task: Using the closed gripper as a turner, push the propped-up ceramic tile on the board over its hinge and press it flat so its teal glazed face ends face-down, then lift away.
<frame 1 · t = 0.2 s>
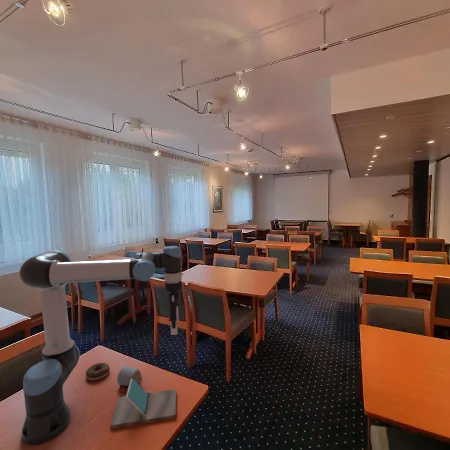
hand: (174, 326, 117), 28 cm above the table, fingers open, 13 cm apart
tile: (137, 395, 104), point 6 cm above the table, hinge at 55.0°
hinge board: (146, 409, 105), on the table
donut: (98, 375, 127), on the table
ceramic mug: (131, 382, 122), on the table
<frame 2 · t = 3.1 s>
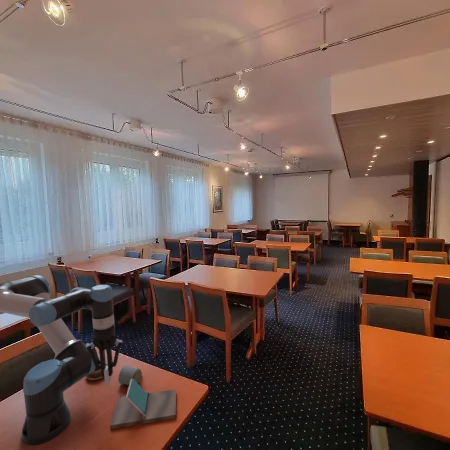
hand: (108, 383, 101), 13 cm above the table, fingers closed
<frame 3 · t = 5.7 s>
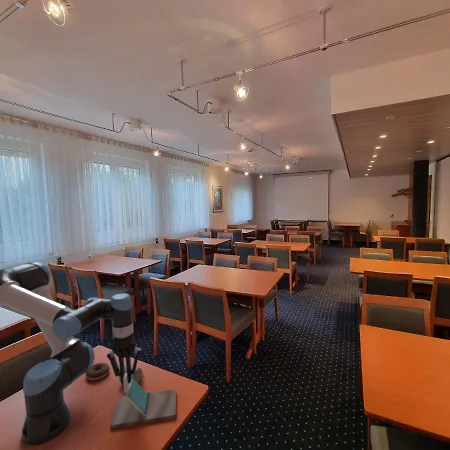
hand: (126, 390, 103), 9 cm above the table, fingers closed
tile: (137, 395, 104), point 6 cm above the table, hinge at 55.1°, touching gripper
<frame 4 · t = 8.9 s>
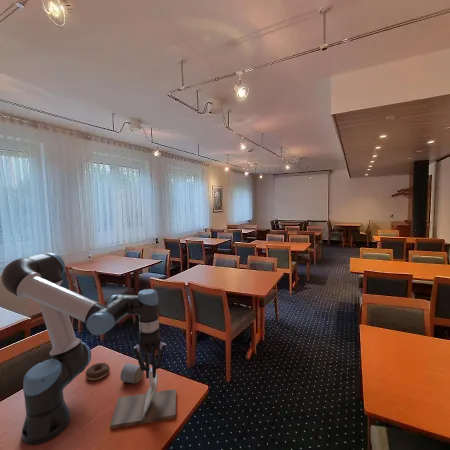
hand: (151, 384, 105), 10 cm above the table, fingers closed
tile: (151, 392, 105), point 7 cm above the table, hinge at 115.5°, touching gripper
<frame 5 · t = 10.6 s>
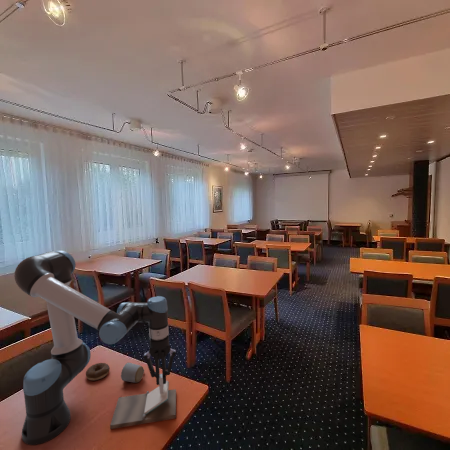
hand: (161, 390, 106), 7 cm above the table, fingers closed
tile: (157, 396, 106), point 5 cm above the table, hinge at 150.0°, touching gripper
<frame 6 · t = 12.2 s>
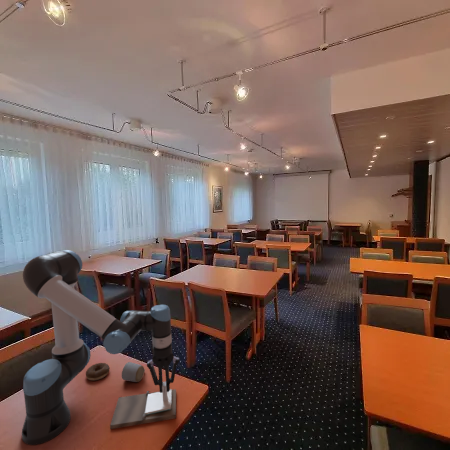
hand: (165, 398, 106), 3 cm above the table, fingers closed
tile: (159, 401, 106), point 2 cm above the table, hinge at 175.3°, touching gripper
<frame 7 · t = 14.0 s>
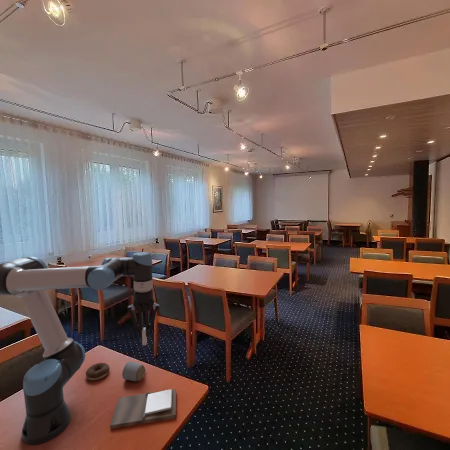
hand: (144, 343, 110), 24 cm above the table, fingers closed
tile: (159, 401, 106), point 2 cm above the table, hinge at 175.3°
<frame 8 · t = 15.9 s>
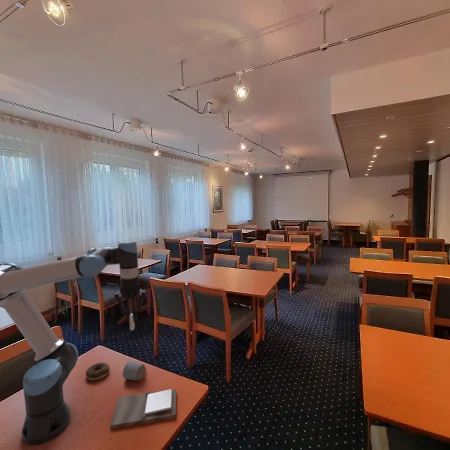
hand: (132, 328, 114), 28 cm above the table, fingers closed
at the end: tile at +175° (first picture: +55°) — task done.
